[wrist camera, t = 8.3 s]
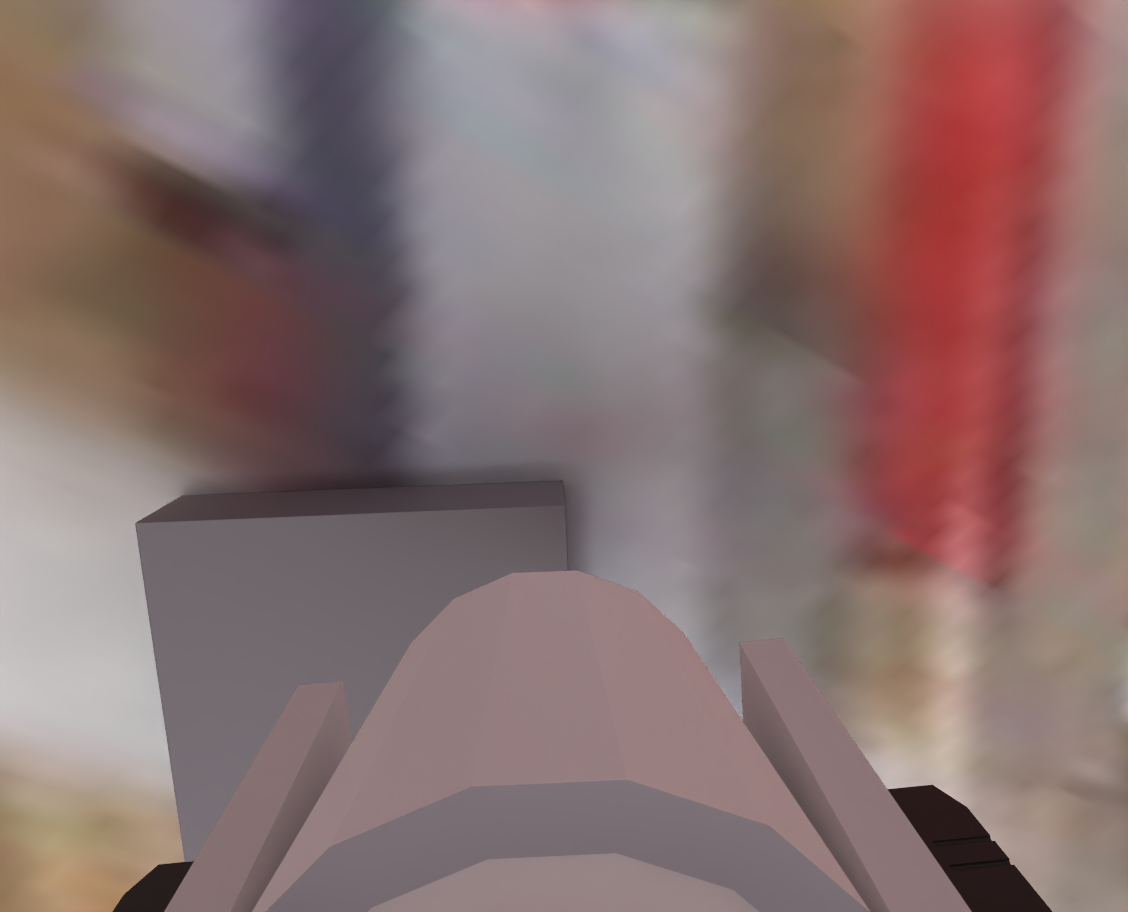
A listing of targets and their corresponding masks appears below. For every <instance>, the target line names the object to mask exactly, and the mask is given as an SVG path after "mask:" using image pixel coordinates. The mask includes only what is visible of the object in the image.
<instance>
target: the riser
mask: <svg viewBox="0 0 1128 912" xmlns="http://www.w3.org/2000/svg"><path fill="white" fill-rule="evenodd" d="M135 525H136V532H137V539H138V546H139V552H140V559H141V566H142V573H143V580H144V586H145V593H146V600H147V607H148V614H149V620H150V627H151V634H152V641H153V648H154V654H155V661H156V668H157V675H158V682H159V688H160V695H161V702H162V709H163V716H164V722H165V729H166V736H167V743H168V750H169V756H170V763H171V770H172V777H173V784H174V790H175V797H176V804H177V811H178V818H179V824H180V831H181V838H182V845H183V852H184V858H185V862H191V861H195V859H196V857H197V856H198V854H199V852H200V850H201V849H202V847H203V845H204V844H205V842H206V840H207V839H208V837H209V835H210V834H211V832H212V830H213V828H214V827H215V825H216V823H217V822H218V820H219V818H220V817H221V815H222V813H223V812H224V810H225V808H226V807H227V805H228V803H229V801H230V800H231V798H232V796H233V795H234V793H235V791H236V790H237V788H238V786H239V785H240V783H241V781H242V780H243V778H244V776H245V774H246V773H247V771H248V769H249V768H250V766H251V764H252V763H253V761H254V759H255V758H256V756H257V754H258V753H259V751H260V749H261V747H262V746H263V744H264V742H265V741H266V739H267V737H268V736H269V734H270V732H271V731H272V729H273V727H274V725H275V724H276V722H277V720H278V719H279V717H280V715H281V714H282V712H283V710H284V709H285V707H286V705H287V704H288V702H289V700H290V698H291V697H292V695H293V693H294V692H295V690H296V688H297V687H298V685H306V684H317V683H327V682H337V681H343V685H344V692H345V698H346V704H347V711H348V717H349V723H350V730H351V736H352V742H353V740H354V739H355V737H356V735H357V734H358V732H359V730H360V729H361V727H362V725H363V723H364V722H365V720H366V718H367V717H368V715H369V713H370V712H371V710H372V708H373V707H374V705H375V703H376V701H377V700H378V698H379V696H380V695H381V693H382V691H383V690H384V688H385V686H386V685H387V683H388V681H389V679H390V678H391V676H392V674H393V673H394V671H395V669H396V668H397V666H398V664H399V663H400V661H401V659H402V658H403V656H404V654H405V652H406V651H407V649H408V647H409V646H410V644H411V643H412V642H413V641H414V640H415V639H416V638H417V636H418V635H419V634H420V633H421V632H422V631H423V630H424V629H425V628H426V627H427V626H428V625H429V624H430V623H431V622H432V621H433V620H434V619H435V618H436V617H437V616H438V615H439V614H440V613H441V612H442V610H443V609H444V608H445V607H446V606H447V605H448V604H449V603H450V602H451V601H452V600H453V599H454V598H457V597H459V596H461V595H464V594H466V593H468V592H470V591H473V590H475V589H477V588H479V587H482V586H484V585H486V584H489V583H491V582H493V581H495V580H498V579H500V578H502V577H505V576H507V575H509V574H511V573H524V572H550V571H568V565H567V536H566V508H565V498H564V490H563V482H562V480H560V481H535V482H509V483H484V484H459V485H434V486H409V487H384V488H359V489H334V490H309V491H284V492H259V493H234V494H209V495H184V496H181V497H179V498H177V499H176V500H174V501H172V502H170V503H169V504H167V505H165V506H164V507H162V508H160V509H159V510H157V511H155V512H154V513H152V514H150V515H148V516H147V517H145V518H143V519H142V520H140V521H138V522H137V523H135Z"/></svg>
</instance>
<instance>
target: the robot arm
mask: <svg viewBox="0 0 1128 912" xmlns="http://www.w3.org/2000/svg"><path fill="white" fill-rule="evenodd" d="M739 644H740V665H741V687H742V708H743V722H744V724H745V725H746V727H747V728H748V730H749V731H750V733H751V734H752V736H753V737H754V739H755V740H756V742H757V743H758V745H759V746H760V748H761V749H762V751H763V752H764V754H765V755H766V757H767V758H768V760H769V761H770V763H771V764H772V766H773V767H774V769H775V770H776V772H777V773H778V775H779V776H780V778H781V779H782V781H783V782H784V783H785V785H786V786H787V788H788V789H789V791H790V792H791V794H792V795H793V797H794V798H795V800H796V801H797V803H798V804H799V806H800V807H801V809H802V810H803V812H804V813H805V815H806V816H807V818H808V819H809V821H810V822H811V824H812V825H813V827H814V828H815V830H816V831H817V833H818V834H819V836H820V837H821V839H822V840H823V842H824V843H825V845H826V846H827V848H828V849H829V851H830V852H831V854H832V855H833V857H834V858H835V860H836V861H837V863H838V864H839V866H840V867H841V869H842V870H843V872H844V873H845V875H846V876H847V878H848V879H849V881H850V882H851V883H852V885H853V886H854V888H855V889H856V891H857V892H858V894H859V895H860V897H861V898H862V900H863V901H864V903H865V904H866V906H867V907H868V909H869V910H870V912H1052V911H1051V910H1050V908H1049V907H1048V906H1047V905H1046V903H1045V902H1044V901H1043V900H1042V898H1041V897H1040V896H1039V895H1038V894H1037V892H1036V891H1035V890H1034V889H1033V887H1032V886H1031V885H1030V884H1029V883H1028V881H1027V880H1026V879H1025V878H1024V876H1023V875H1022V874H1021V873H1020V872H1019V870H1018V869H1017V868H1016V867H1015V865H1011V864H1010V861H1009V858H1008V857H1007V856H1006V854H1005V853H1004V852H1003V851H1002V850H1001V848H1000V847H999V846H998V845H997V843H996V842H995V841H991V838H990V835H989V834H988V832H987V831H986V830H985V829H984V827H983V826H982V825H981V824H980V823H979V821H978V820H977V819H976V818H975V816H974V815H973V814H972V813H971V812H970V810H969V809H968V808H967V807H966V806H964V805H963V804H961V803H960V802H958V801H956V800H955V799H953V798H952V797H950V796H949V795H947V794H946V793H944V792H943V791H941V790H939V789H938V788H936V787H935V786H933V785H927V786H917V787H907V788H897V789H887V788H886V787H885V785H884V784H883V782H882V781H881V779H880V778H879V776H878V775H877V774H876V772H875V771H874V769H873V768H872V766H871V765H870V763H869V762H868V760H867V759H866V758H865V756H864V755H863V753H862V752H861V750H860V749H859V747H858V746H857V744H856V743H855V742H854V740H853V739H852V737H851V736H850V734H849V733H848V731H847V730H846V729H845V727H844V726H843V724H842V723H841V721H840V720H839V718H838V717H837V715H836V714H835V713H834V711H833V710H832V708H831V707H830V705H829V704H828V702H827V701H826V699H825V698H824V697H823V695H822V694H821V692H820V691H819V689H818V688H817V686H816V685H815V684H814V682H813V681H812V679H811V678H810V676H809V675H808V673H807V672H806V670H805V669H804V668H803V666H802V665H801V663H800V662H799V660H798V659H797V657H796V656H795V654H794V653H793V652H792V650H791V649H790V647H789V646H788V644H787V643H786V641H785V640H784V639H783V638H780V639H770V640H759V641H749V642H739ZM351 744H352V736H351V730H350V723H349V717H348V711H347V704H346V698H345V692H344V685H343V681H337V682H327V683H317V684H306V685H298V687H297V688H296V690H295V692H294V693H293V695H292V697H291V698H290V700H289V702H288V704H287V705H286V707H285V709H284V710H283V712H282V714H281V715H280V717H279V719H278V720H277V722H276V724H275V725H274V727H273V729H272V731H271V732H270V734H269V736H268V737H267V739H266V741H265V742H264V744H263V746H262V747H261V749H260V751H259V753H258V754H257V756H256V758H255V759H254V761H253V763H252V764H251V766H250V768H249V769H248V771H247V773H246V774H245V776H244V778H243V780H242V781H241V783H240V785H239V786H238V788H237V790H236V791H235V793H234V795H233V796H232V798H231V800H230V801H229V803H228V805H227V807H226V808H225V810H224V812H223V813H222V815H221V817H220V818H219V820H218V822H217V823H216V825H215V827H214V828H213V830H212V832H211V834H210V835H209V837H208V839H207V840H206V842H205V844H204V845H203V847H202V849H201V850H200V852H199V854H198V856H197V857H196V859H195V861H191V862H181V863H171V864H161V865H158V866H157V867H155V868H154V869H153V870H152V871H151V872H150V873H148V874H147V875H146V876H145V877H144V878H143V879H142V880H140V881H139V882H138V883H137V884H136V885H135V886H133V887H132V888H131V889H130V890H129V891H128V892H126V893H125V894H124V896H123V897H122V898H121V900H120V901H119V903H118V904H117V906H116V907H115V909H114V910H113V912H252V911H253V909H254V908H255V906H256V904H257V903H258V901H259V899H260V897H261V896H262V894H263V892H264V891H265V889H266V887H267V886H268V884H269V882H270V881H271V879H272V877H273V876H274V874H275V872H276V870H277V869H278V867H279V865H280V864H281V862H282V860H283V859H284V857H285V855H286V854H287V852H288V850H289V848H290V847H291V845H292V843H293V842H294V840H295V838H296V837H297V835H298V833H299V832H300V830H301V828H302V827H303V825H304V823H305V821H306V820H307V818H308V816H309V815H310V813H311V811H312V810H313V808H314V806H315V805H316V803H317V801H318V799H319V798H320V796H321V794H322V793H323V791H324V789H325V788H326V786H327V784H328V783H329V781H330V779H331V778H332V776H333V774H334V772H335V771H336V769H337V767H338V766H339V764H340V762H341V761H342V759H343V757H344V756H345V754H346V752H347V750H348V749H349V747H350V745H351Z"/></svg>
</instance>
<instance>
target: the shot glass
mask: <svg viewBox="0 0 1128 912" xmlns="http://www.w3.org/2000/svg"><path fill="white" fill-rule="evenodd" d="M252 912H870V910H869V909H868V907H867V906H866V904H865V903H864V901H863V900H862V898H861V897H860V895H859V894H858V892H857V891H856V889H855V888H854V886H853V885H852V883H851V882H850V881H849V879H848V878H847V876H846V875H845V873H844V872H843V870H842V869H841V867H840V866H839V864H838V863H837V861H836V860H835V858H834V857H833V855H832V854H831V852H830V851H829V849H828V848H827V846H826V845H825V843H824V842H823V840H822V839H821V837H820V836H819V834H818V833H817V831H816V830H815V828H814V827H813V825H812V824H811V822H810V821H809V819H808V818H807V816H806V815H805V813H804V812H803V810H802V809H801V807H800V806H799V804H798V803H797V801H796V800H795V798H794V797H793V795H792V794H791V792H790V791H789V789H788V788H787V786H786V785H785V783H784V782H783V781H782V779H781V778H780V776H779V775H778V773H777V772H776V770H775V769H774V767H773V766H772V764H771V763H770V761H769V760H768V758H767V757H766V755H765V754H764V752H763V751H762V749H761V748H760V746H759V745H758V743H757V742H756V740H755V739H754V737H753V736H752V734H751V733H750V731H749V730H748V728H747V727H746V725H745V724H744V722H743V721H742V719H741V718H740V716H739V715H738V713H737V712H736V710H735V709H734V707H733V706H732V704H731V703H730V701H729V700H728V698H727V697H726V695H725V694H724V692H723V691H722V689H721V688H720V686H719V685H718V684H717V682H716V681H715V679H714V678H713V676H712V675H711V673H710V672H709V670H708V669H707V667H706V666H705V664H704V663H703V661H702V660H701V658H700V657H699V655H698V654H697V652H696V651H695V649H694V648H693V646H692V645H691V643H690V642H689V640H688V639H687V637H686V636H685V634H684V633H683V632H682V631H681V630H680V629H679V628H678V627H677V626H676V625H675V624H673V623H672V622H671V621H670V620H669V619H668V618H667V617H666V616H665V615H663V614H662V613H661V612H660V611H659V610H658V609H657V608H656V607H654V606H653V605H652V604H651V603H650V602H649V601H648V600H647V599H646V598H644V597H643V596H642V595H641V594H640V593H639V592H638V591H635V590H632V589H629V588H626V587H624V586H621V585H618V584H615V583H612V582H609V581H606V580H604V579H601V578H598V577H595V576H592V575H589V574H586V573H584V572H581V571H578V570H575V571H550V572H524V573H511V574H509V575H507V576H505V577H502V578H500V579H498V580H495V581H493V582H491V583H489V584H486V585H484V586H482V587H479V588H477V589H475V590H473V591H470V592H468V593H466V594H464V595H461V596H459V597H457V598H454V599H453V600H452V601H451V602H450V603H449V604H448V605H447V606H446V607H445V608H444V609H443V610H442V612H441V613H440V614H439V615H438V616H437V617H436V618H435V619H434V620H433V621H432V622H431V623H430V624H429V625H428V626H427V627H426V628H425V629H424V630H423V631H422V632H421V633H420V634H419V635H418V636H417V638H416V639H415V640H414V641H413V642H412V643H411V644H410V646H409V647H408V649H407V651H406V652H405V654H404V656H403V658H402V659H401V661H400V663H399V664H398V666H397V668H396V669H395V671H394V673H393V674H392V676H391V678H390V679H389V681H388V683H387V685H386V686H385V688H384V690H383V691H382V693H381V695H380V696H379V698H378V700H377V701H376V703H375V705H374V707H373V708H372V710H371V712H370V713H369V715H368V717H367V718H366V720H365V722H364V723H363V725H362V727H361V729H360V730H359V732H358V734H357V735H356V737H355V739H354V740H353V742H352V744H351V745H350V747H349V749H348V750H347V752H346V754H345V756H344V757H343V759H342V761H341V762H340V764H339V766H338V767H337V769H336V771H335V772H334V774H333V776H332V778H331V779H330V781H329V783H328V784H327V786H326V788H325V789H324V791H323V793H322V794H321V796H320V798H319V799H318V801H317V803H316V805H315V806H314V808H313V810H312V811H311V813H310V815H309V816H308V818H307V820H306V821H305V823H304V825H303V827H302V828H301V830H300V832H299V833H298V835H297V837H296V838H295V840H294V842H293V843H292V845H291V847H290V848H289V850H288V852H287V854H286V855H285V857H284V859H283V860H282V862H281V864H280V865H279V867H278V869H277V870H276V872H275V874H274V876H273V877H272V879H271V881H270V882H269V884H268V886H267V887H266V889H265V891H264V892H263V894H262V896H261V897H260V899H259V901H258V903H257V904H256V906H255V908H254V909H253V911H252Z"/></svg>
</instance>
